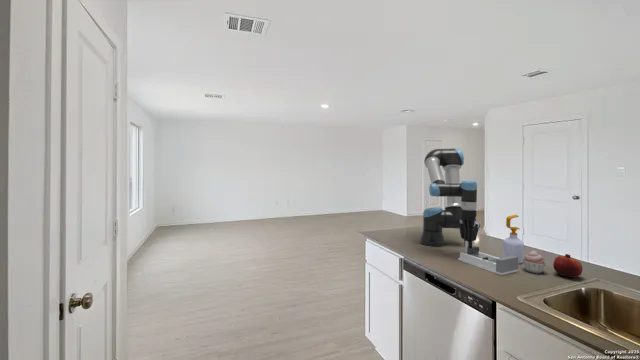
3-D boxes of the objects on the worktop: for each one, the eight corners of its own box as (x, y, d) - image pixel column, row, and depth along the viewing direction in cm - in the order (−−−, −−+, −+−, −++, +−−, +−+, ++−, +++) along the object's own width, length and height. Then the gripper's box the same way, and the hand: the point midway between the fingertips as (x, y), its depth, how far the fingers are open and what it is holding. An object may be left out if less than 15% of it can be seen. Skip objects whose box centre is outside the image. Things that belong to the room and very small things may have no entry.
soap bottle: (526, 264, 148) (528, 216, 147) (507, 263, 150) (508, 216, 149) (518, 258, 157) (519, 213, 156) (500, 257, 159) (501, 213, 158)
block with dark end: (463, 259, 153) (463, 248, 153) (475, 257, 157) (475, 246, 156) (485, 267, 141) (485, 254, 141) (498, 264, 145) (498, 252, 144)
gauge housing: (458, 259, 156) (458, 247, 156) (474, 257, 161) (474, 244, 160) (501, 275, 134) (501, 260, 134) (518, 271, 139) (518, 256, 138)
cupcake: (551, 274, 135) (552, 253, 134) (534, 275, 133) (534, 254, 133) (533, 267, 144) (534, 247, 143) (517, 268, 142) (517, 248, 142)
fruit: (547, 272, 138) (547, 251, 137) (568, 272, 137) (569, 251, 137) (565, 280, 127) (566, 258, 126) (588, 280, 127) (589, 258, 126)
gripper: (453, 208, 160) (453, 250, 161) (474, 211, 148) (473, 256, 149) (463, 207, 163) (463, 248, 164) (484, 210, 151) (483, 255, 152)
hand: (468, 252), depth 157 cm, fingers closed
